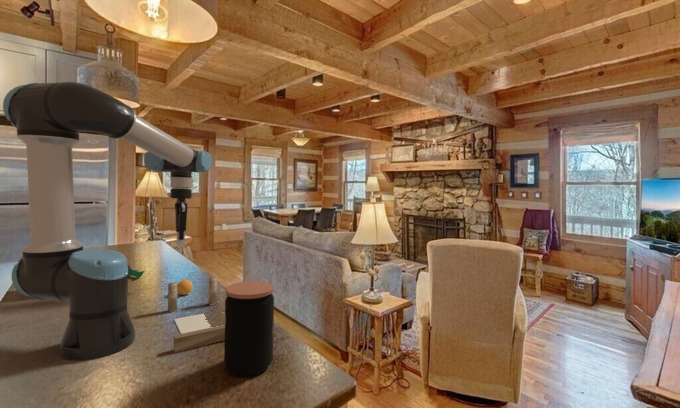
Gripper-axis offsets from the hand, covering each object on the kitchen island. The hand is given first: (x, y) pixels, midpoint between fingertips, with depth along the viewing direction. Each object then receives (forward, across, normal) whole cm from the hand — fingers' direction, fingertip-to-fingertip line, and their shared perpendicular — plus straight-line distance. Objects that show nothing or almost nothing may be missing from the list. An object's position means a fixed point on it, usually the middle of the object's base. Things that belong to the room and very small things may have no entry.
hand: (180, 247), depth 129 cm
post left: (+16, -26, +6) cm, 31 cm away
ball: (+14, -10, 0) cm, 17 cm away
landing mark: (+16, -41, 0) cm, 44 cm away
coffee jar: (+16, -71, -3) cm, 73 cm away
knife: (+17, +28, +15) cm, 36 cm away
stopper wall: (+16, -55, 0) cm, 57 cm away
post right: (+16, -26, -6) cm, 31 cm away
